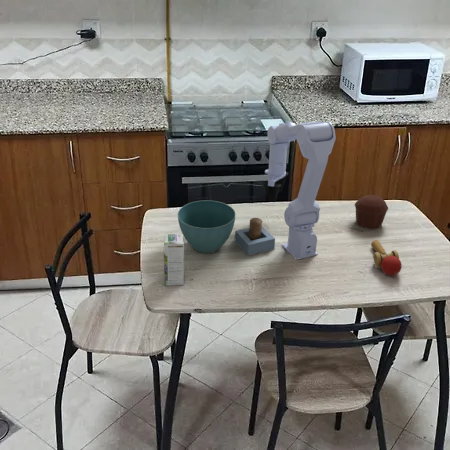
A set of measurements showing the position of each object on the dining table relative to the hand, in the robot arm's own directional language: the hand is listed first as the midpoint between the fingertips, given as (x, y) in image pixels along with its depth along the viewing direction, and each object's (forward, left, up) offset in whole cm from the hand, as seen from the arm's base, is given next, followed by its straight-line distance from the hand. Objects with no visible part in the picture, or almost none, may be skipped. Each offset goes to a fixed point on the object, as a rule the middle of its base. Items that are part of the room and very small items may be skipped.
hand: (275, 196), depth 199 cm
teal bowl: (-6, +29, -10) cm, 31 cm away
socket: (-12, +14, -9) cm, 21 cm away
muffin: (-15, -30, -10) cm, 35 cm away
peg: (-12, +14, -8) cm, 20 cm away
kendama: (-37, -18, -10) cm, 43 cm away
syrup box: (-20, +45, -10) cm, 50 cm away
